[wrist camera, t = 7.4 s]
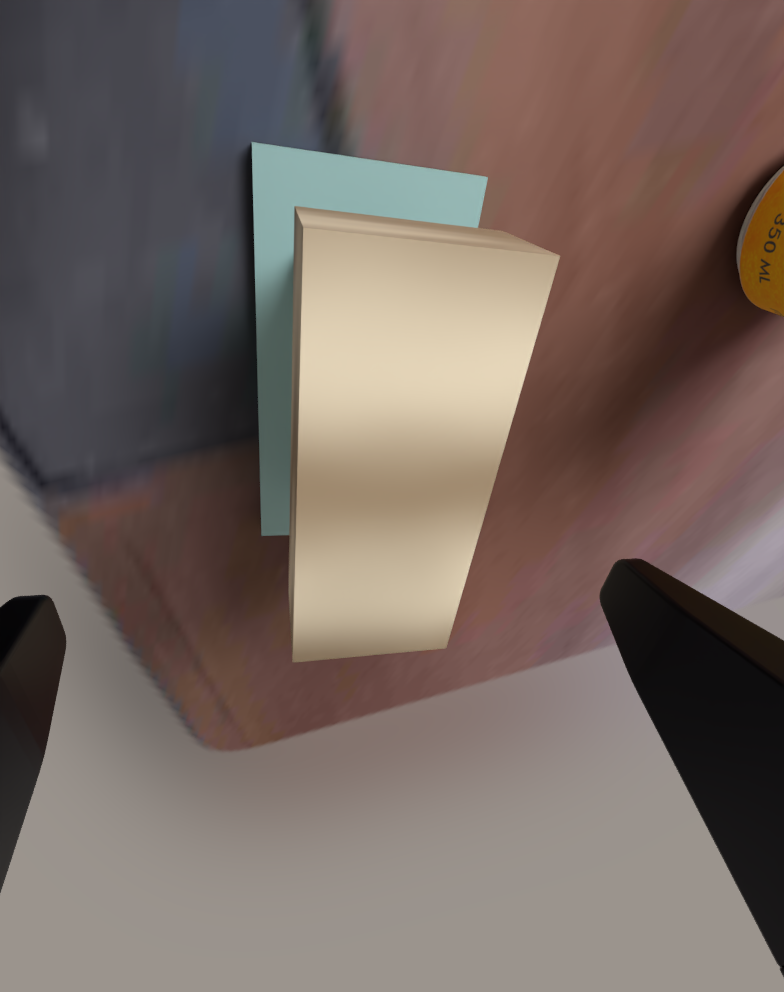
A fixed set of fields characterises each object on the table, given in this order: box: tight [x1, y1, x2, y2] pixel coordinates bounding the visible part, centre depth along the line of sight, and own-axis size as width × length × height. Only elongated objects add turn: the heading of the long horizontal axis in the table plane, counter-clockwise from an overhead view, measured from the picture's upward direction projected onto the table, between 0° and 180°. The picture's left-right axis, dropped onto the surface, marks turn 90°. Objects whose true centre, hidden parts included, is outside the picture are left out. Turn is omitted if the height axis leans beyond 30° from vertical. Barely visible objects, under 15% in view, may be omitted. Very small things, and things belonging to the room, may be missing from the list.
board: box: [288, 206, 560, 662], centre depth 14 cm, size 12×5×3 cm, turn 172°
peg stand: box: [252, 142, 488, 536], centre depth 17 cm, size 14×7×5 cm, turn 172°
